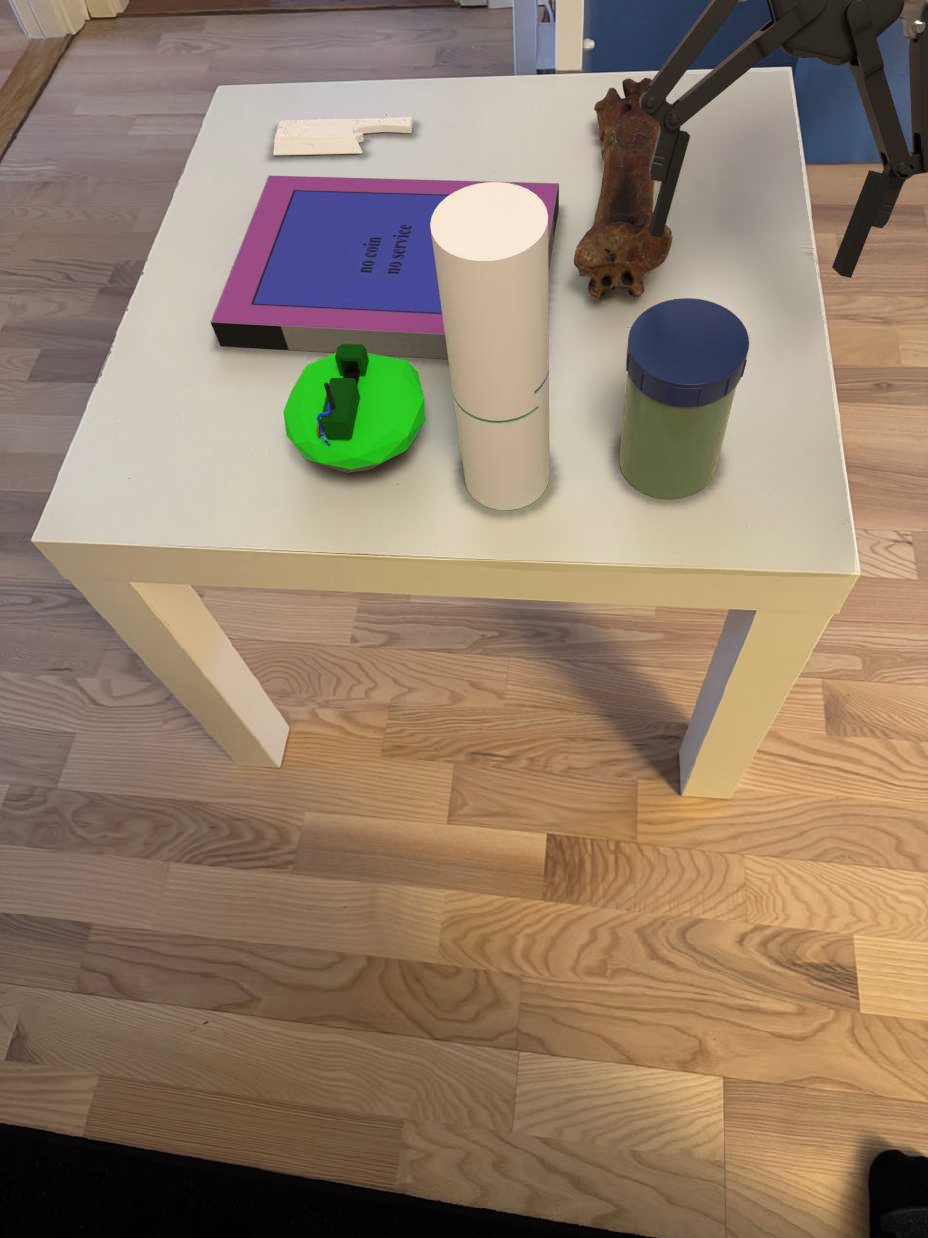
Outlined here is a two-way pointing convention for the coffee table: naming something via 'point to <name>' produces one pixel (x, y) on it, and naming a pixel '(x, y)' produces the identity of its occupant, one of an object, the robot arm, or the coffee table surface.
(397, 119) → the butcher knife
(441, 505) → the coffee table surface
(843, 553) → the coffee table surface
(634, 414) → the jar
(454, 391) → the cylindrical container
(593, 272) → the bone
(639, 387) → the jar lid
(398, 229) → the book
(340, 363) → the green rounded piece
